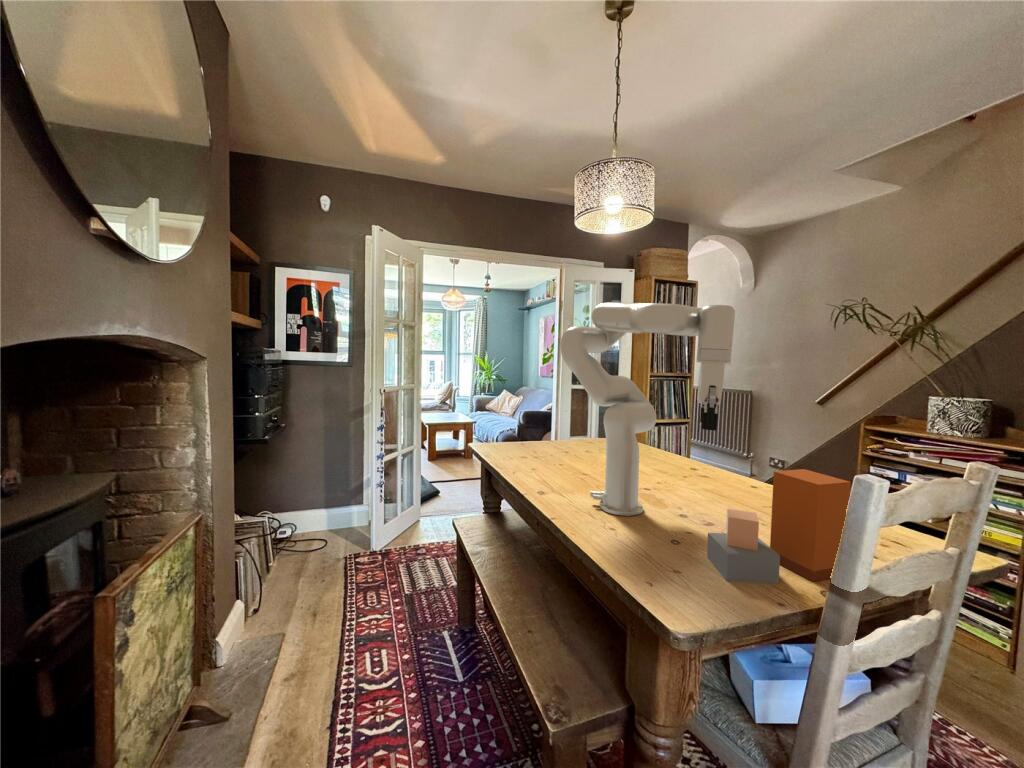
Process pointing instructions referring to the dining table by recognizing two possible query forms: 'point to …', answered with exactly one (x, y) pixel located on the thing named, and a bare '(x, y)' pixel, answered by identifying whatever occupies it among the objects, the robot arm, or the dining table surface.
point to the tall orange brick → (808, 521)
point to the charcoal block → (743, 561)
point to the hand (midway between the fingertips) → (707, 426)
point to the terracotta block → (742, 529)
